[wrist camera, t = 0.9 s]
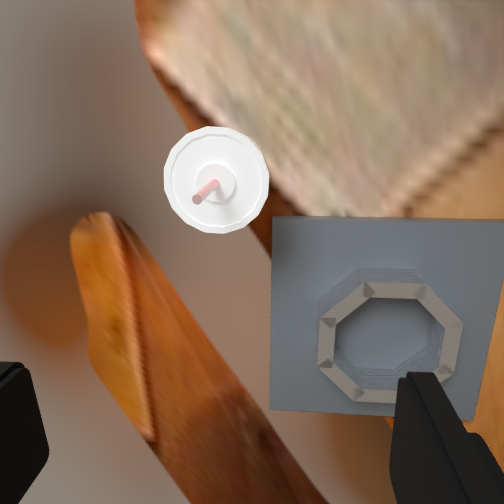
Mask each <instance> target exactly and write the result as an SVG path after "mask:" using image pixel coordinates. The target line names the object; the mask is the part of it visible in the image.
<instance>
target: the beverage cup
mask: <svg viewBox="0 0 504 504" xmlns="http://www.w3.org/2000/svg"><path fill="white" fill-rule="evenodd" d="M268 187H269V171H268V168H267V165H266V162H265V159H264V156H263V154H262V152H261V149H260V148H259V147H258V146H257V145H256V143H255V142H254V141H253V140H251V139H250V138H249V137H247V136H245V135H243V134H241V133H239V132H237V131H235V130H233V129H231V128H225V127H209V126H207V127H204V128H201V129H199V130H196V131H193V132H191V133H188V134H186V135H185V136H184V137H183V138H182V139H181V140H180V141H179V142H178V143H177V144H176V145H175V146H174V147H173V148H172V149H171V152H170V154H169V157H168V159H167V162H166V164H165V167H164V190H165V192H166V195H167V197H168V200H169V202H170V204H171V207H172V209H173V210H174V211H175V212H176V213H177V214H178V215H179V216H180V217H181V218H182V219H183V220H184V222H186V223H187V224H189V225H191V226H193V227H195V228H197V229H199V230H201V231H203V232H209V233H222V234H225V233H228V232H231V231H235V230H237V229H241V228H244V227H245V226H246V225H247V224H248V223H249V222H251V221H252V220H253V219H254V218H255V217H256V216H258V215H259V213H260V211H261V209H262V207H263V205H264V203H265V201H266V199H267V197H268Z"/></svg>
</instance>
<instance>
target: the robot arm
mask: <svg viewBox="0 0 504 504" xmlns="http://www.w3.org/2000/svg"><path fill="white" fill-rule="evenodd" d="M48 456H49V446H48V442H47V438H46V434H45V430H44V426H43V422H42V418H41V414H40V410H39V407H38V403H37V398H36V394H35V390H34V386H33V382H32V379H31V374H30V371H29V370H28V369H27V368H25V367H24V365H23V364H22V363H20V362H0V504H18V503H19V502H20V500H21V499H22V497H23V496H24V494H25V493H26V492H27V490H28V489H29V487H30V486H31V484H32V483H33V482H34V480H35V479H36V477H37V476H38V474H39V473H40V471H41V470H42V468H43V467H44V466H45V464H46V462H47V459H48ZM389 469H390V477H391V482H392V485H393V490H394V493H395V497H396V500H397V504H504V473H503V471H502V470H501V468H500V466H499V465H498V463H497V461H496V459H495V458H494V456H493V454H492V453H491V451H490V449H489V448H488V446H487V444H486V443H485V441H484V440H483V438H482V437H481V436H480V435H479V434H477V433H467V431H466V429H465V427H464V426H463V424H462V422H461V420H460V418H459V417H458V415H457V413H456V411H455V409H454V408H453V406H452V404H451V402H450V400H449V399H448V397H447V395H446V393H445V391H444V390H443V388H442V386H441V384H440V382H439V381H438V379H437V377H436V375H435V374H434V373H433V372H410V371H409V372H407V374H406V378H399V380H398V385H397V395H396V405H395V415H394V424H393V434H392V444H391V453H390V465H389Z"/></svg>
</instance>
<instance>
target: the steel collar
mask: <svg viewBox="0 0 504 504" xmlns="http://www.w3.org/2000/svg"><path fill="white" fill-rule="evenodd" d="M370 297H376V298H406V299H417V300H418V301H419V302H420V303H421V304H422V305H423V306H424V307H425V308H426V309H427V310H428V311H429V312H430V313H431V318H430V324H429V330H428V337H427V343H426V346H425V347H424V348H423V349H421V350H420V351H418V352H417V353H416V354H414V355H413V356H411V357H410V358H409V359H407V360H406V361H404V362H403V363H402V364H400V365H399V366H397V367H396V368H395V369H389V368H368V367H355V366H354V365H353V364H351V363H350V362H349V361H348V360H347V359H346V358H345V357H344V356H343V355H342V354H341V353H340V352H339V351H338V350H337V349H336V348H335V347H334V342H335V328H336V324H337V323H338V322H340V321H341V320H342V319H343V318H345V317H346V316H347V315H349V314H350V313H351V312H352V311H354V310H355V309H356V308H357V307H359V306H360V305H361V304H362V303H364V302H365V301H366V300H368V299H369V298H370ZM462 328H463V322H462V321H461V319H460V318H459V317H458V316H457V315H456V314H455V312H454V311H453V310H452V309H451V308H450V307H449V305H447V304H446V303H445V302H444V301H443V300H442V298H441V297H440V296H439V295H438V294H437V293H436V292H435V291H434V290H433V289H432V288H431V287H430V286H429V285H428V283H427V282H426V281H425V280H424V279H423V278H422V277H421V276H420V275H419V274H418V273H417V271H416V270H415V269H402V268H366V267H357V268H356V269H355V270H354V271H353V272H352V273H350V274H349V275H348V276H347V277H346V278H344V279H343V280H342V281H341V282H339V283H338V284H337V285H336V286H335V287H333V288H332V289H331V290H330V291H329V292H327V293H326V294H325V295H324V296H323V297H321V298H320V299H319V300H317V314H316V333H315V346H314V347H315V356H316V364H317V368H319V369H320V370H321V371H322V372H323V373H324V374H325V375H326V376H327V377H328V378H329V379H330V380H331V381H333V382H334V383H335V384H336V385H337V386H338V387H339V388H340V389H341V390H342V391H343V392H344V393H345V394H346V395H347V396H348V397H349V398H351V399H352V400H353V401H358V402H377V403H396V395H397V385H398V380H399V378H406V374H407V372H409V371H410V372H433V373H434V374H435V375H436V377H437V379H438V381H439V382H440V383H441V382H442V381H444V380H445V379H447V378H448V377H450V376H451V375H453V374H454V371H455V366H456V360H457V355H458V349H459V344H460V339H461V333H462Z"/></svg>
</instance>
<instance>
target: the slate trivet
mask: <svg viewBox="0 0 504 504" xmlns="http://www.w3.org/2000/svg"><path fill="white" fill-rule="evenodd" d="M357 267H366V268H402V269H415V270H416V271H417V273H418V274H419V275H420V276H421V277H422V278H423V279H424V280H425V281H426V282H427V283H428V285H429V286H430V287H431V288H432V289H433V290H434V291H435V292H436V293H437V294H438V295H439V296H440V297H441V298H442V300H443V301H444V302H445V303H446V304H447V305H449V307H450V308H451V309H452V310H453V311H454V312H455V314H456V315H457V316H458V317H459V318H460V319H461V321H462V322H463V328H462V333H461V339H460V344H459V349H458V355H457V360H456V366H455V371H454V374H453V375H451V376H450V377H448V378H447V379H445V380H444V381H442V382H441V383H440V384H441V386H442V388H443V390H444V391H445V393H446V395H447V397H448V399H449V400H450V402H451V404H452V406H453V408H454V409H455V411H456V413H457V415H458V417H459V418H460V420H463V421H473V419H474V414H475V409H476V405H477V400H478V395H479V391H480V386H481V381H482V377H483V372H484V367H485V362H486V358H487V353H488V348H489V344H490V339H491V334H492V330H493V325H494V320H495V316H496V311H497V306H498V302H499V297H500V292H501V288H502V283H503V278H504V220H499V219H443V218H387V217H332V216H276V215H273V218H272V274H271V275H272V276H271V339H270V340H271V342H270V406H269V407H270V408H269V409H270V410H285V411H302V412H321V413H339V414H356V415H374V416H391V417H394V415H395V405H396V403H377V402H358V401H353V400H352V399H351V398H349V397H348V396H347V395H346V394H345V393H344V392H343V391H342V390H341V389H340V388H339V387H338V386H337V385H336V384H335V383H334V382H333V381H331V380H330V379H329V378H328V377H327V376H326V375H325V374H324V373H323V372H322V371H321V370H320V369H319V368H317V364H316V356H315V347H314V346H315V333H316V314H317V300H319V299H320V298H321V297H323V296H324V295H325V294H326V293H327V292H329V291H330V290H331V289H332V288H333V287H335V286H336V285H337V284H338V283H339V282H341V281H342V280H343V279H344V278H346V277H347V276H348V275H349V274H350V273H352V272H353V271H354V270H355V269H356V268H357ZM430 318H431V313H430V312H429V311H428V310H427V309H426V308H425V307H424V306H423V305H422V304H421V303H420V302H419V301H418V300H417V299H406V298H376V297H370V298H369V299H368V300H366V301H365V302H364V303H362V304H361V305H360V306H359V307H357V308H356V309H355V310H354V311H352V312H351V313H350V314H349V315H347V316H346V317H345V318H343V319H342V320H341V321H340V322H338V323H337V324H336V328H335V342H334V347H335V348H336V349H337V350H338V351H339V352H340V353H341V354H342V355H343V356H344V357H345V358H346V359H347V360H348V361H349V362H350V363H351V364H353V365H354V366H355V367H368V368H389V369H395V368H396V367H397V366H399V365H400V364H402V363H403V362H404V361H406V360H407V359H409V358H410V357H411V356H413V355H414V354H416V353H417V352H418V351H420V350H421V349H423V348H424V347H425V346H426V343H427V337H428V330H429V324H430Z"/></svg>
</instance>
